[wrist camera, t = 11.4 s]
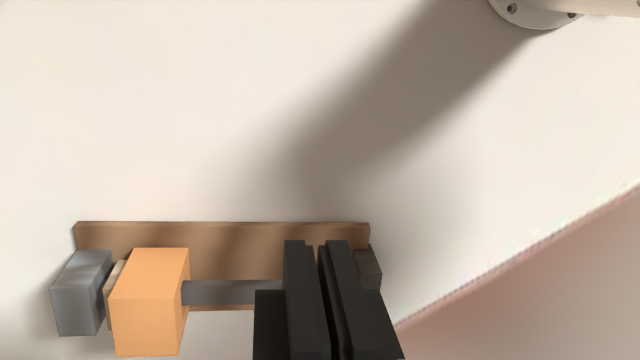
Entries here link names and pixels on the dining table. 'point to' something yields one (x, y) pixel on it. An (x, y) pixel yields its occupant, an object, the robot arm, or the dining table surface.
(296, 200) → the dining table surface
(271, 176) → the dining table surface
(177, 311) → the sleeve
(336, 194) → the dining table surface
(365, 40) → the dining table surface
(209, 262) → the rod slider toy
